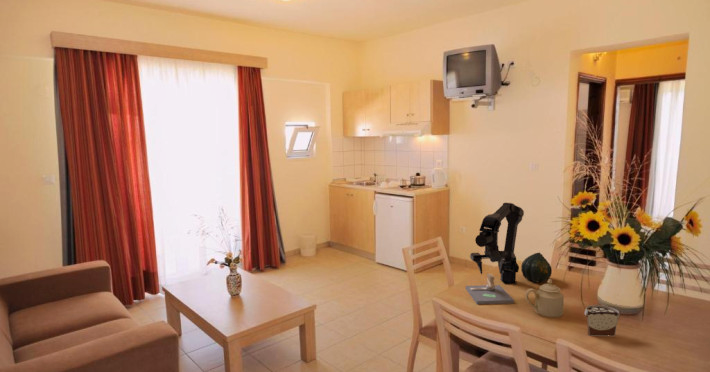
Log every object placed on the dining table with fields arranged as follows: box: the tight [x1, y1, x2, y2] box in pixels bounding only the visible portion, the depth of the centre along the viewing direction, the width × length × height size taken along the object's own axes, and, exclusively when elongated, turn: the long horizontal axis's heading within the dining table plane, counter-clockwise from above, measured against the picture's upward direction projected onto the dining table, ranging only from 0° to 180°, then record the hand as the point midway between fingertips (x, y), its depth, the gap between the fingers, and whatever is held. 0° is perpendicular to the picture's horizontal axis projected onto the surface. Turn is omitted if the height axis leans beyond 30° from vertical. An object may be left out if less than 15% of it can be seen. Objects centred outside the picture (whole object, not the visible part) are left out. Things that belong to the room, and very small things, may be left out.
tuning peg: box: [471, 273, 496, 291], centre depth 202 cm, size 12×5×7 cm, turn 90°
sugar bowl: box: [524, 278, 565, 318], centre depth 178 cm, size 15×11×15 cm
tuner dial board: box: [465, 284, 515, 305], centre depth 200 cm, size 17×19×2 cm
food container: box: [584, 304, 621, 337], centre depth 161 cm, size 12×6×10 cm, turn 84°
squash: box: [520, 252, 553, 283], centre depth 218 cm, size 14×15×15 cm
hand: (490, 273), depth 202 cm, fingers open, 9 cm apart
